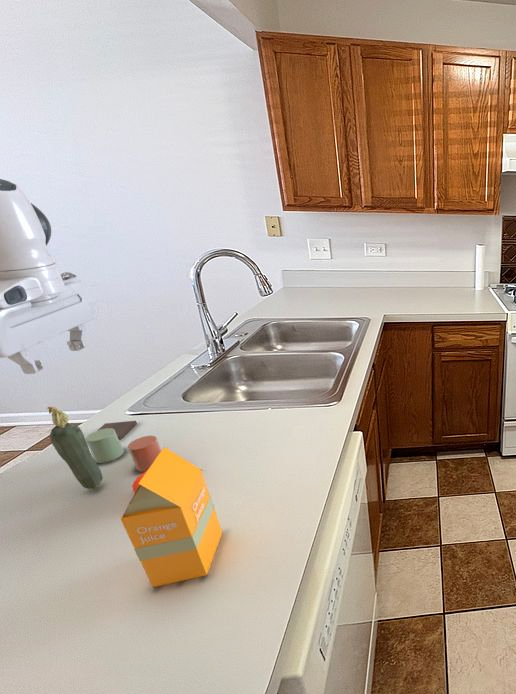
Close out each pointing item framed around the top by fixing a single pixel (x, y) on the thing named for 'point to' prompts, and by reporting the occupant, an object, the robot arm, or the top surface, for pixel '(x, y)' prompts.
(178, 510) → the orange juice
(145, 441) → the rust red cylinder
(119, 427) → the coaster
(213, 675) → the top surface
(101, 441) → the mint green cylinder
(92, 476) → the vegetable
